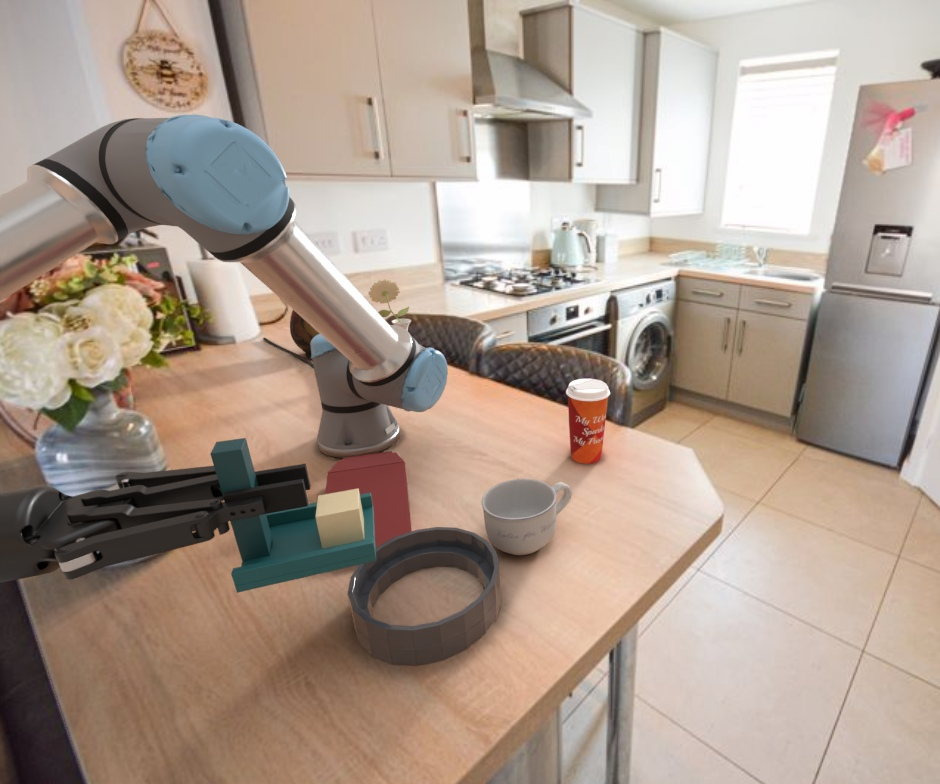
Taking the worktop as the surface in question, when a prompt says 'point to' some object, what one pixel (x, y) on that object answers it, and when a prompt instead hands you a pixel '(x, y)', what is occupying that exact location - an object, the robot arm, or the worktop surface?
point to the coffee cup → (587, 418)
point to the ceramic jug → (302, 333)
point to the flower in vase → (388, 300)
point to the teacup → (522, 514)
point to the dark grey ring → (410, 557)
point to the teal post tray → (283, 531)
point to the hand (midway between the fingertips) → (306, 484)
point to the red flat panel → (376, 489)
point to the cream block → (340, 518)
